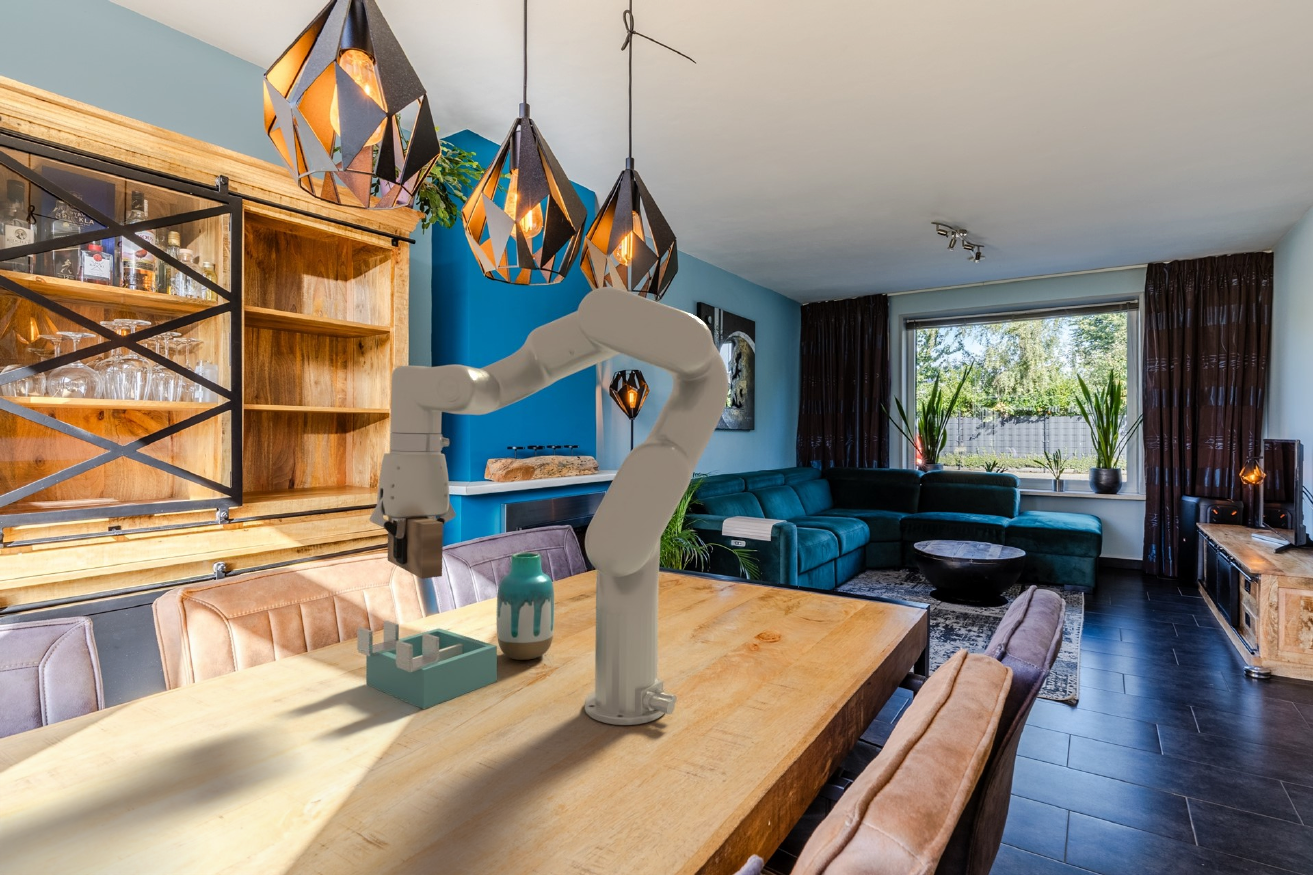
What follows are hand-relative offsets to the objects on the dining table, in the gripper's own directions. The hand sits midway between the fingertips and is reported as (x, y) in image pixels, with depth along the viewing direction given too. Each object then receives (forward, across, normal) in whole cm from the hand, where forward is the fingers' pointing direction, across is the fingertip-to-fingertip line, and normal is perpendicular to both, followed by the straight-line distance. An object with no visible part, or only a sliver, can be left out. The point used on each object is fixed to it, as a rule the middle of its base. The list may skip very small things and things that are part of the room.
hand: (413, 560), depth 104 cm
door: (+1, 0, 0) cm, 1 cm away
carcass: (+22, -5, -4) cm, 23 cm away
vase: (+22, -23, -5) cm, 32 cm away
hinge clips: (+16, +1, -2) cm, 16 cm away
